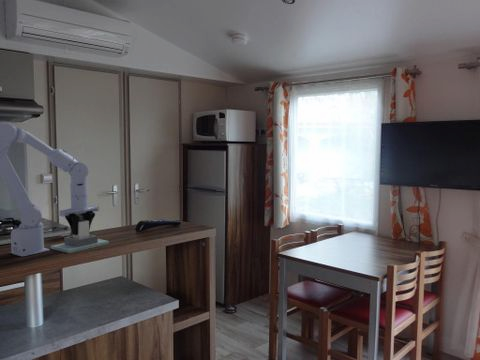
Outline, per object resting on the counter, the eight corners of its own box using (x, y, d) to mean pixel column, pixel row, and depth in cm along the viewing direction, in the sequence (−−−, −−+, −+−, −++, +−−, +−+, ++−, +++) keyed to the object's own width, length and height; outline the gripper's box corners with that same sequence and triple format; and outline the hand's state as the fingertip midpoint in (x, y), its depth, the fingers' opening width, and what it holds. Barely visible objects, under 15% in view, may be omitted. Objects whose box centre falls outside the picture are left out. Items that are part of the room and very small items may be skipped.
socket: (69, 253, 136) (68, 242, 135) (50, 248, 142) (50, 238, 141) (108, 243, 149) (108, 234, 148) (90, 239, 155) (90, 230, 155)
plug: (79, 239, 142) (78, 218, 141) (72, 237, 144) (72, 217, 144) (89, 237, 145) (88, 216, 145) (82, 235, 147) (82, 215, 147)
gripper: (67, 198, 135) (68, 238, 136) (103, 194, 147) (105, 231, 148) (55, 197, 139) (57, 236, 140) (91, 193, 151) (93, 229, 152)
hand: (80, 233), depth 145 cm, fingers closed on plug, 4 cm apart
